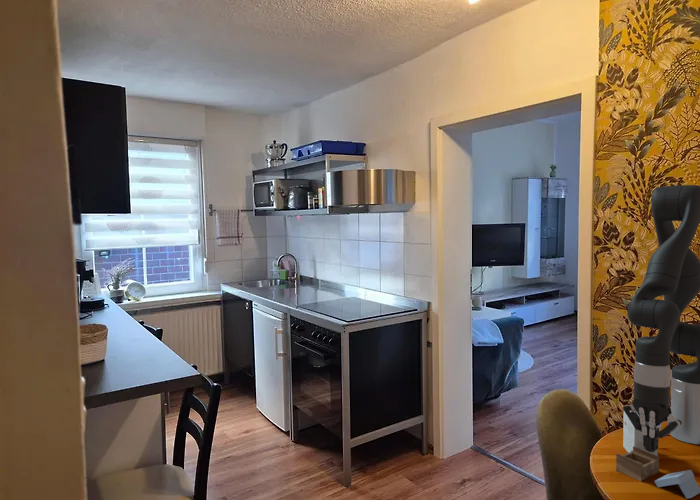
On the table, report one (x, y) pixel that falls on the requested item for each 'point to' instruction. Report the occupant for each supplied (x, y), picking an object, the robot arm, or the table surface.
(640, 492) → the table surface
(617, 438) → the table surface
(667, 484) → the lid
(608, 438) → the table surface
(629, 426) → the small box
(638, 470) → the case
